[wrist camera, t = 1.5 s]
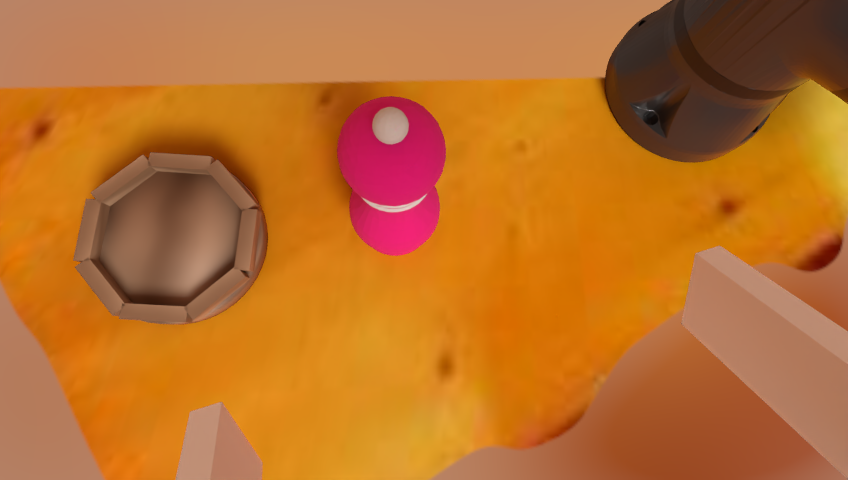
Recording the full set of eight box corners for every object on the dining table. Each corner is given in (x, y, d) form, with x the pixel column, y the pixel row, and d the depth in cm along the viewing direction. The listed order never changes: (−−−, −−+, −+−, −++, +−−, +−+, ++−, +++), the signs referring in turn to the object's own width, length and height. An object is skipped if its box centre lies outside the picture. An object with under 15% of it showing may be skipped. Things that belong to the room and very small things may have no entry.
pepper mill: (361, 178, 42) (325, 38, 22) (440, 188, 42) (474, 59, 22) (349, 255, 40) (299, 180, 21) (430, 266, 40) (458, 201, 21)
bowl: (276, 171, 41) (266, 157, 38) (257, 328, 38) (244, 328, 35) (118, 160, 41) (94, 146, 38) (86, 319, 38) (58, 318, 35)
